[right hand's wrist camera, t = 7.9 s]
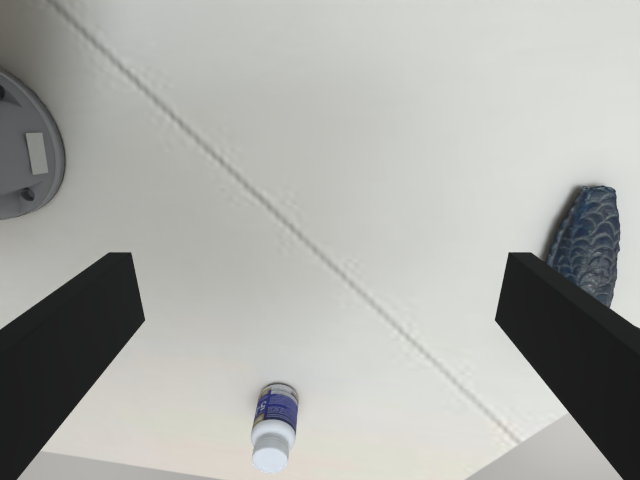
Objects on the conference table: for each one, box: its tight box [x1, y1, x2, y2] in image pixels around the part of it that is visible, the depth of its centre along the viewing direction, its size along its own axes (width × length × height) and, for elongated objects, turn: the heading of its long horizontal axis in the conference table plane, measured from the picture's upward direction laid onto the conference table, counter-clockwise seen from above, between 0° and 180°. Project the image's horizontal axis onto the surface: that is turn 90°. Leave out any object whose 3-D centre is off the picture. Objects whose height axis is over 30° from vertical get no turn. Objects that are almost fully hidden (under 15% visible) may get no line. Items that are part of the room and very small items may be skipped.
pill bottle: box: [251, 384, 298, 473], centre depth 43 cm, size 5×5×9 cm
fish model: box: [546, 186, 620, 308], centre depth 39 cm, size 7×21×5 cm, turn 2°
